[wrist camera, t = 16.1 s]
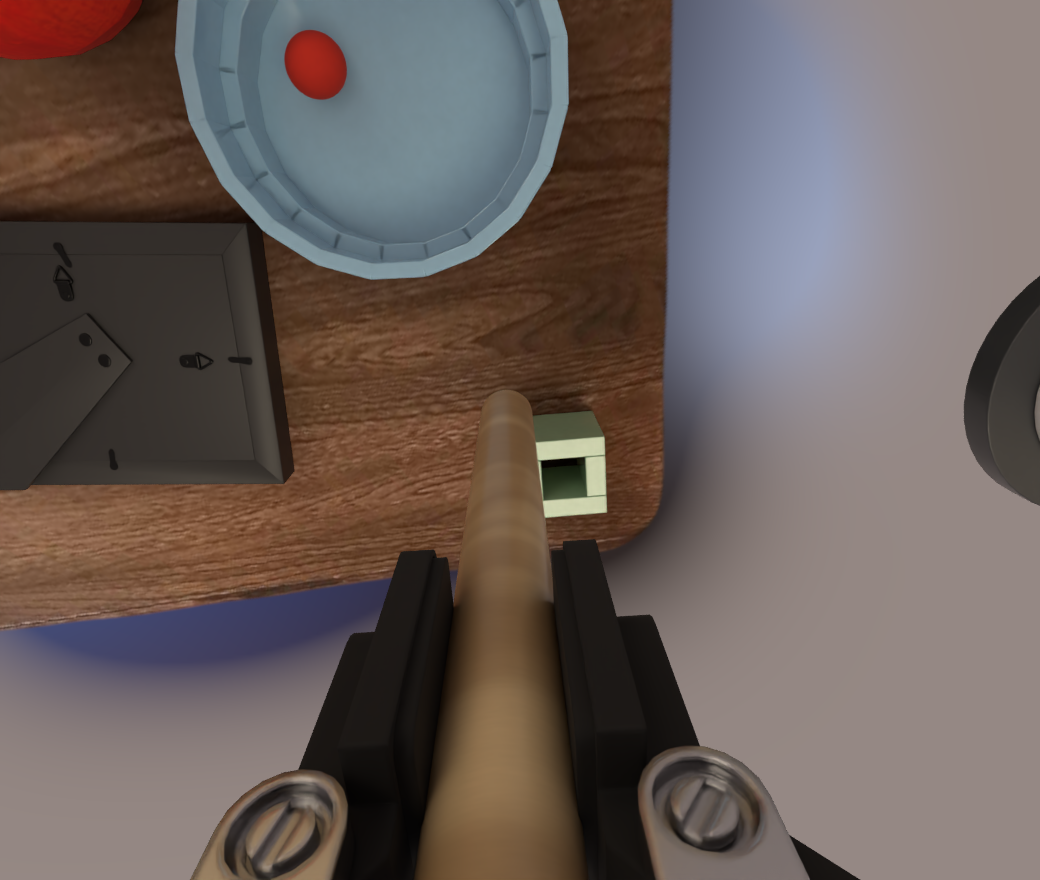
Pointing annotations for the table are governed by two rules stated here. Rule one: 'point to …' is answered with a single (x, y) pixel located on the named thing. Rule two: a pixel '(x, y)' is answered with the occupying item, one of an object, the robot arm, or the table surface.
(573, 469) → the holder
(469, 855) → the stick
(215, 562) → the table surface
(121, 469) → the picture frame
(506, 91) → the light blue round tray
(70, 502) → the table surface
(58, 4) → the apple
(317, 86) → the ball
